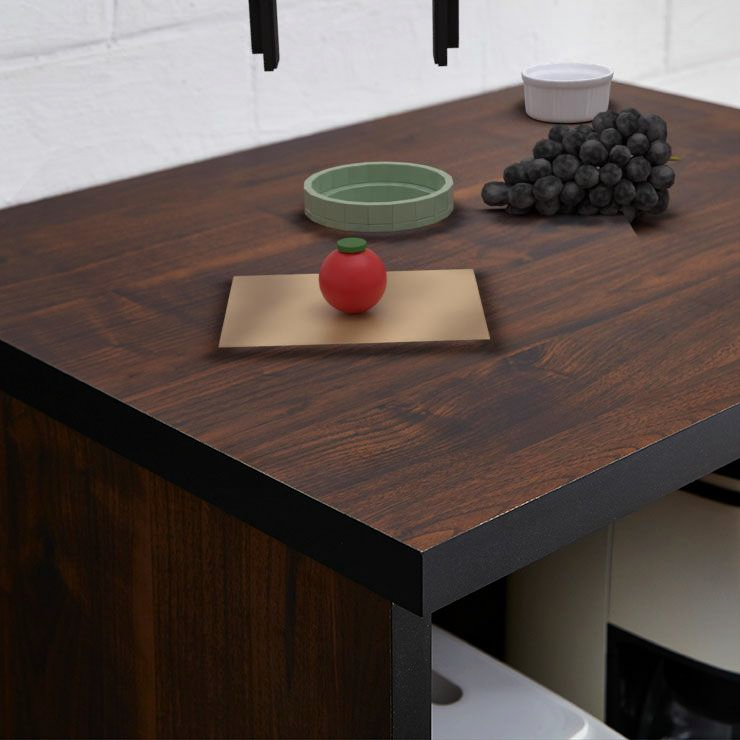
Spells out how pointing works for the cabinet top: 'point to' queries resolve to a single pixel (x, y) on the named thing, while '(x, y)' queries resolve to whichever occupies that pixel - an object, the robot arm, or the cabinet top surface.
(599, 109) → the ramekin
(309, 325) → the serving board
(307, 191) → the bowl
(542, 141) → the fruit
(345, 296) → the tomato
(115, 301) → the cabinet top surface
